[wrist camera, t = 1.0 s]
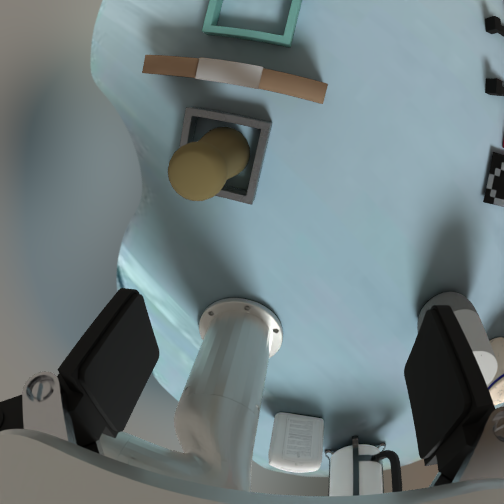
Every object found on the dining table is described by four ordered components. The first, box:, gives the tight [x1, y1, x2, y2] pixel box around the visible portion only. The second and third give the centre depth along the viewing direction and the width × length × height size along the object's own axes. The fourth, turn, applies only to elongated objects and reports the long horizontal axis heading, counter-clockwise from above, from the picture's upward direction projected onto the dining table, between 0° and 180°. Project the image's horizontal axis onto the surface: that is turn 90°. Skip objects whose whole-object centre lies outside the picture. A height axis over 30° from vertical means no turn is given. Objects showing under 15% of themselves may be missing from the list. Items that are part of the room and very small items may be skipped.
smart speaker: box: [418, 292, 498, 385], centre depth 33 cm, size 10×9×14 cm
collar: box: [202, 0, 302, 47], centre depth 24 cm, size 9×9×2 cm
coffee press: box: [325, 436, 402, 496], centre depth 46 cm, size 17×16×30 cm
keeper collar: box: [180, 107, 272, 205], centre depth 33 cm, size 9×9×2 cm
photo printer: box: [269, 412, 324, 473], centre depth 50 cm, size 10×4×12 cm, turn 81°
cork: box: [168, 127, 250, 201], centre depth 29 cm, size 6×6×11 cm
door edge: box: [142, 55, 328, 104], centre depth 27 cm, size 2×18×5 cm, turn 78°
